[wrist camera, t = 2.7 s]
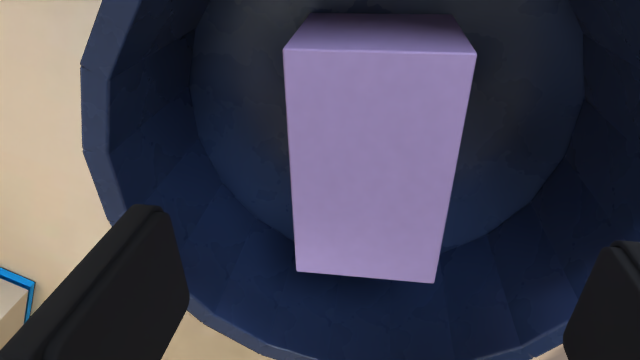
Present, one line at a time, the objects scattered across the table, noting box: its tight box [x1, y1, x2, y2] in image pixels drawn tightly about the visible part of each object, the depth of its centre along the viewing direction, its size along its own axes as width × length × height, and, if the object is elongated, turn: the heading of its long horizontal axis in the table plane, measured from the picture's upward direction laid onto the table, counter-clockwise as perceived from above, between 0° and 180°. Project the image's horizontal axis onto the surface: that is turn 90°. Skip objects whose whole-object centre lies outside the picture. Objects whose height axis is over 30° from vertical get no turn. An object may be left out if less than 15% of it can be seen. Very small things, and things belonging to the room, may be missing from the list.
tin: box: [80, 0, 640, 360], centre depth 13 cm, size 16×16×6 cm
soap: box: [282, 13, 477, 283], centre depth 14 cm, size 8×5×4 cm, turn 1°
